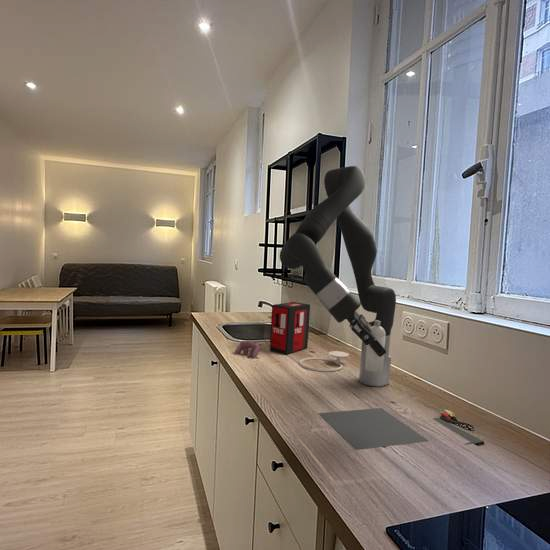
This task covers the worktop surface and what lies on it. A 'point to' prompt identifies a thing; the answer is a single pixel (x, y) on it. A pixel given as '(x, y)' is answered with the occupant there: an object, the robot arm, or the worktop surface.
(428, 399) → the worktop surface
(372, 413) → the mat
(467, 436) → the smartphone
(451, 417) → the composite cable
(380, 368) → the white pump bottle
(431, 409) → the worktop surface
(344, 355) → the hand towel holder
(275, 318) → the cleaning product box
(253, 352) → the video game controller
